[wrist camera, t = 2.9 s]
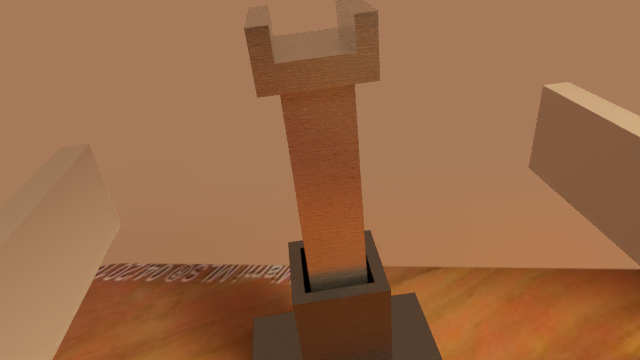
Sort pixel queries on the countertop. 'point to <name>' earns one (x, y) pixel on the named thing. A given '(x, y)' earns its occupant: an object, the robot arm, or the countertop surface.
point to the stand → (345, 319)
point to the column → (322, 129)
